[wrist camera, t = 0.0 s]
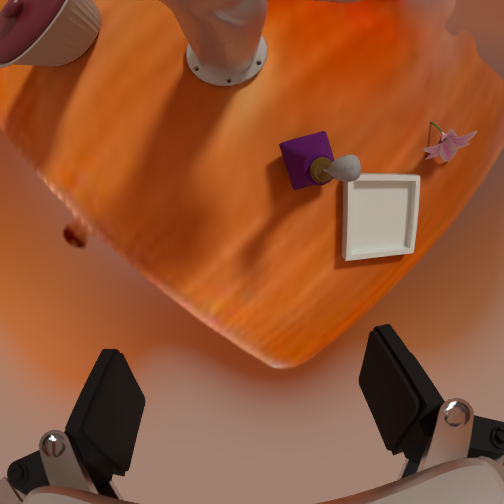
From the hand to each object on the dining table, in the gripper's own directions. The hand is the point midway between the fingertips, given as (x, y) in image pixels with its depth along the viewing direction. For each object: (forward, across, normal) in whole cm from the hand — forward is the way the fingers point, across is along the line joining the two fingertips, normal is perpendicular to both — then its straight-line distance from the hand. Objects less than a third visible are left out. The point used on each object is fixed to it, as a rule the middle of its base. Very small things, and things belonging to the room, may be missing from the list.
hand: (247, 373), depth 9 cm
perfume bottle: (+37, -11, -5) cm, 39 cm away
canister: (+37, +28, -36) cm, 59 cm away
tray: (+37, -25, +5) cm, 45 cm away
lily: (+37, -38, -9) cm, 54 cm away
